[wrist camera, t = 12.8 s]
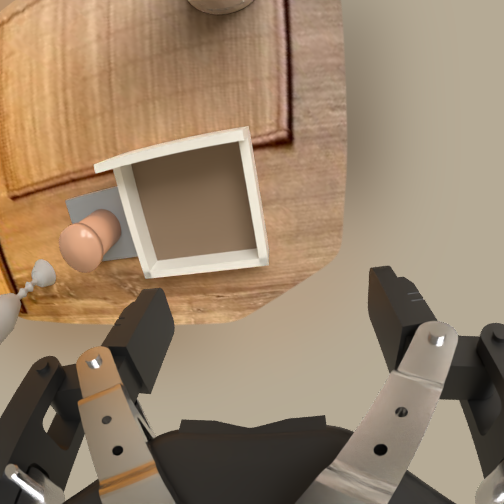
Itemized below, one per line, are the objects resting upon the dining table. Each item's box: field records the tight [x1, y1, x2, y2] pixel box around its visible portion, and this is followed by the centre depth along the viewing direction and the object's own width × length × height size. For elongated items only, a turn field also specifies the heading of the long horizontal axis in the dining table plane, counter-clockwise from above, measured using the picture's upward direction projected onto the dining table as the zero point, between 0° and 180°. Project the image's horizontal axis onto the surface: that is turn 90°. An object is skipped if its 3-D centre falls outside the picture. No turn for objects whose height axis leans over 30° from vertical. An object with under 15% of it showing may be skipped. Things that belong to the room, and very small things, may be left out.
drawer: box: [94, 126, 269, 279], centre depth 35 cm, size 16×16×8 cm
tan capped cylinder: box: [59, 209, 121, 273], centre depth 37 cm, size 6×6×7 cm
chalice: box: [0, 259, 56, 344], centre depth 37 cm, size 7×7×18 cm
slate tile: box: [65, 186, 138, 261], centre depth 41 cm, size 10×10×1 cm
